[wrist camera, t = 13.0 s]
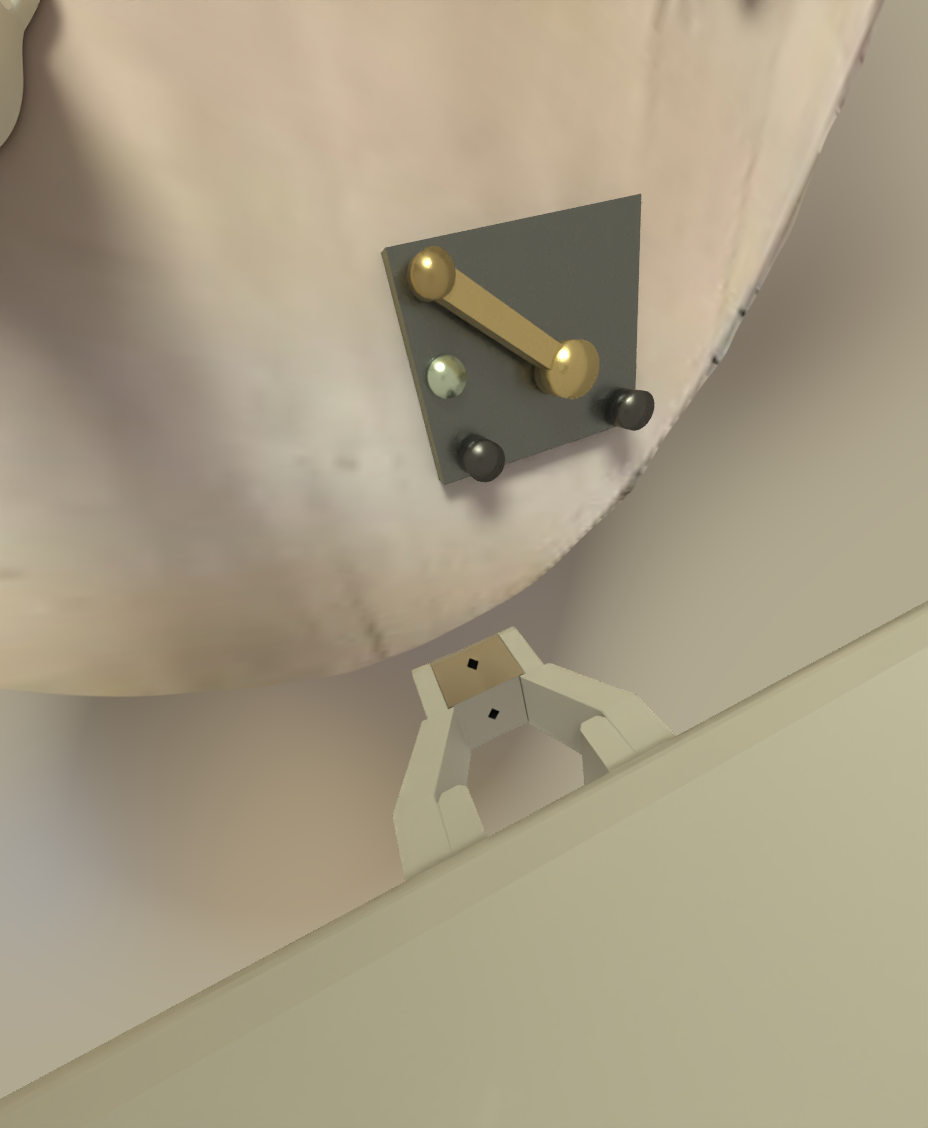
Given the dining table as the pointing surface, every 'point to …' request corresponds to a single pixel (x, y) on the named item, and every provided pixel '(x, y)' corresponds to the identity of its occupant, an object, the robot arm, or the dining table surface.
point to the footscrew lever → (505, 325)
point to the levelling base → (549, 301)
